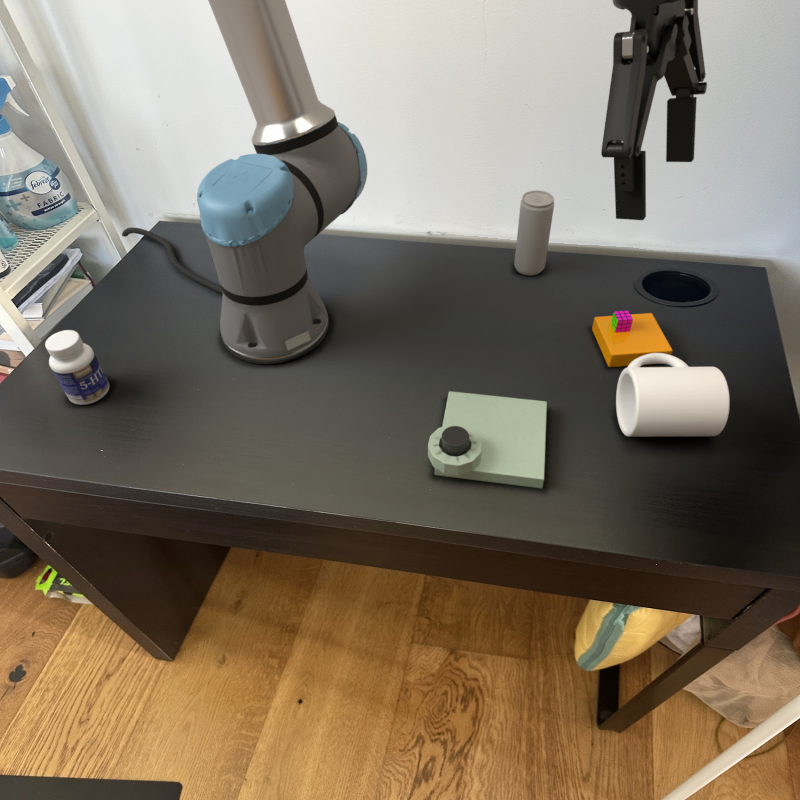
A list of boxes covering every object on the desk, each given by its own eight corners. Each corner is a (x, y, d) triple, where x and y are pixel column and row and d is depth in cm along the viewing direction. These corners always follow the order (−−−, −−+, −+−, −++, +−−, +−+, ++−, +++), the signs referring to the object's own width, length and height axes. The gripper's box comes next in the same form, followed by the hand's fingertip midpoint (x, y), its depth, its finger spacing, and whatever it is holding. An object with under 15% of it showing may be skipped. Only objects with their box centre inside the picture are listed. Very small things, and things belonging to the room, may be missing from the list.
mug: (714, 450, 72) (738, 401, 66) (625, 450, 72) (642, 402, 67) (683, 378, 80) (702, 329, 75) (605, 379, 81) (617, 331, 75)
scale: (425, 480, 70) (424, 461, 68) (441, 399, 79) (441, 379, 77) (541, 495, 68) (546, 476, 66) (545, 410, 77) (548, 390, 75)
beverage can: (547, 262, 100) (557, 192, 91) (541, 279, 97) (552, 208, 88) (517, 258, 101) (524, 188, 92) (510, 274, 98) (518, 203, 89)
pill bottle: (94, 409, 80) (65, 357, 74) (60, 402, 82) (29, 350, 75) (118, 381, 84) (93, 329, 78) (85, 375, 85) (57, 323, 79)
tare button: (439, 454, 69) (439, 444, 68) (443, 434, 71) (443, 424, 70) (467, 458, 68) (467, 447, 67) (470, 437, 70) (470, 427, 69)
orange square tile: (648, 325, 88) (655, 300, 85) (668, 363, 82) (677, 338, 79) (591, 329, 88) (597, 304, 85) (608, 367, 82) (615, 342, 79)
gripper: (645, -24, 44) (646, 249, 57) (752, -96, 57) (732, 139, 70) (548, -8, 48) (569, 242, 61) (667, -78, 61) (664, 140, 74)
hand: (656, 188), depth 65 cm, fingers open, 13 cm apart
